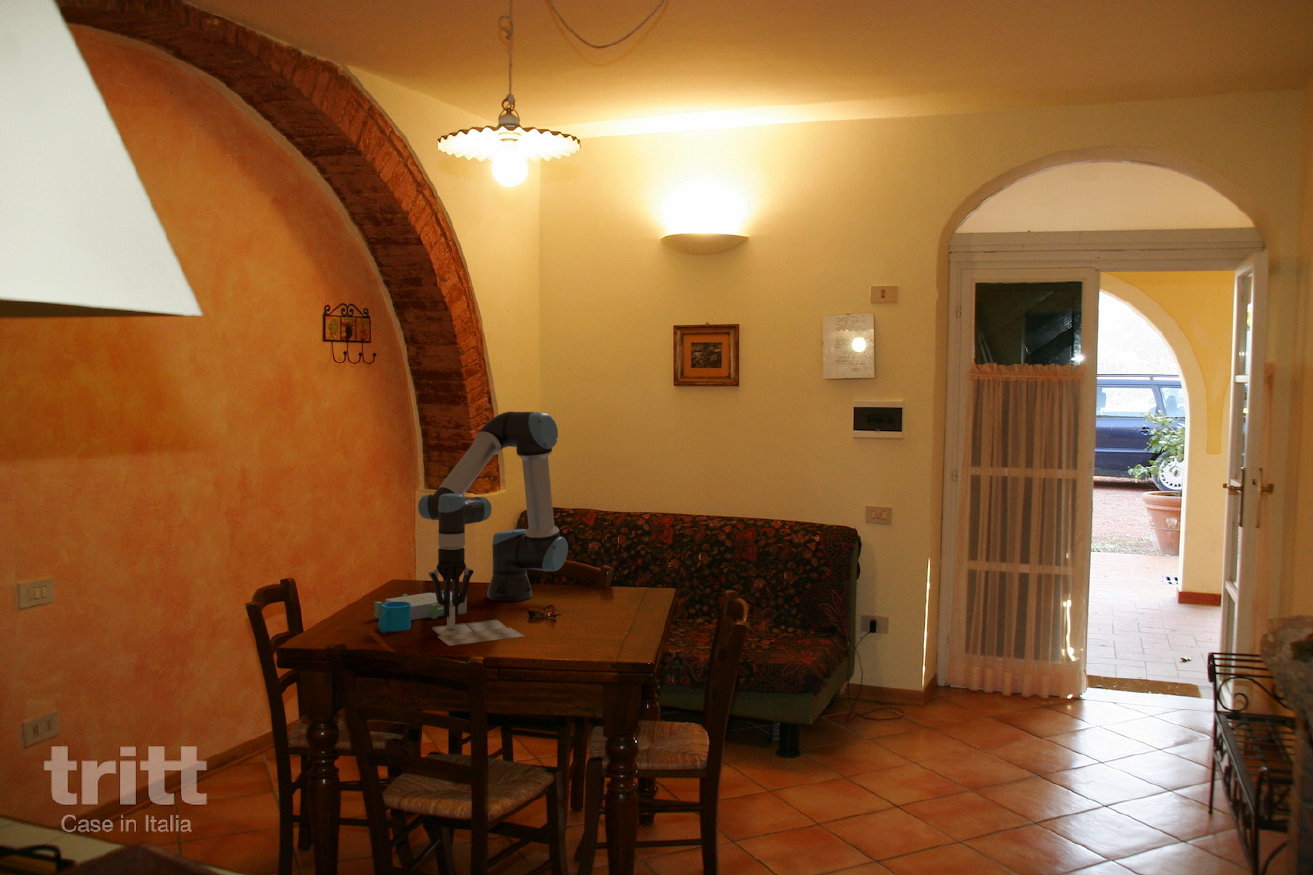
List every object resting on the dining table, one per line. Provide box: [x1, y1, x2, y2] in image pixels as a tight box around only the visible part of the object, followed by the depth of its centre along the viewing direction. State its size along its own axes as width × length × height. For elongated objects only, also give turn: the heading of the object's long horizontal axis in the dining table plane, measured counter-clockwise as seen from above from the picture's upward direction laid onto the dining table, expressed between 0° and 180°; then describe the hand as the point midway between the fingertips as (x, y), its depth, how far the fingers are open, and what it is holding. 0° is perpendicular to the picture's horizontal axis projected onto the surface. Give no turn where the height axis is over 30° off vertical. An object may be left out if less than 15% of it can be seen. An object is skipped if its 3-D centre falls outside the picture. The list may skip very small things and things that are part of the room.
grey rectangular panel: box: [465, 619, 508, 632], centre depth 278 cm, size 10×8×1 cm
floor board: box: [437, 627, 525, 646], centre depth 267 cm, size 22×11×1 cm, turn 120°
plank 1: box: [431, 623, 474, 636], centre depth 273 cm, size 10×8×1 cm
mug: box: [378, 601, 412, 634], centre depth 273 cm, size 12×8×8 cm
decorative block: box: [374, 589, 468, 621], centre depth 295 cm, size 26×6×20 cm
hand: (450, 627), depth 274 cm, fingers closed
